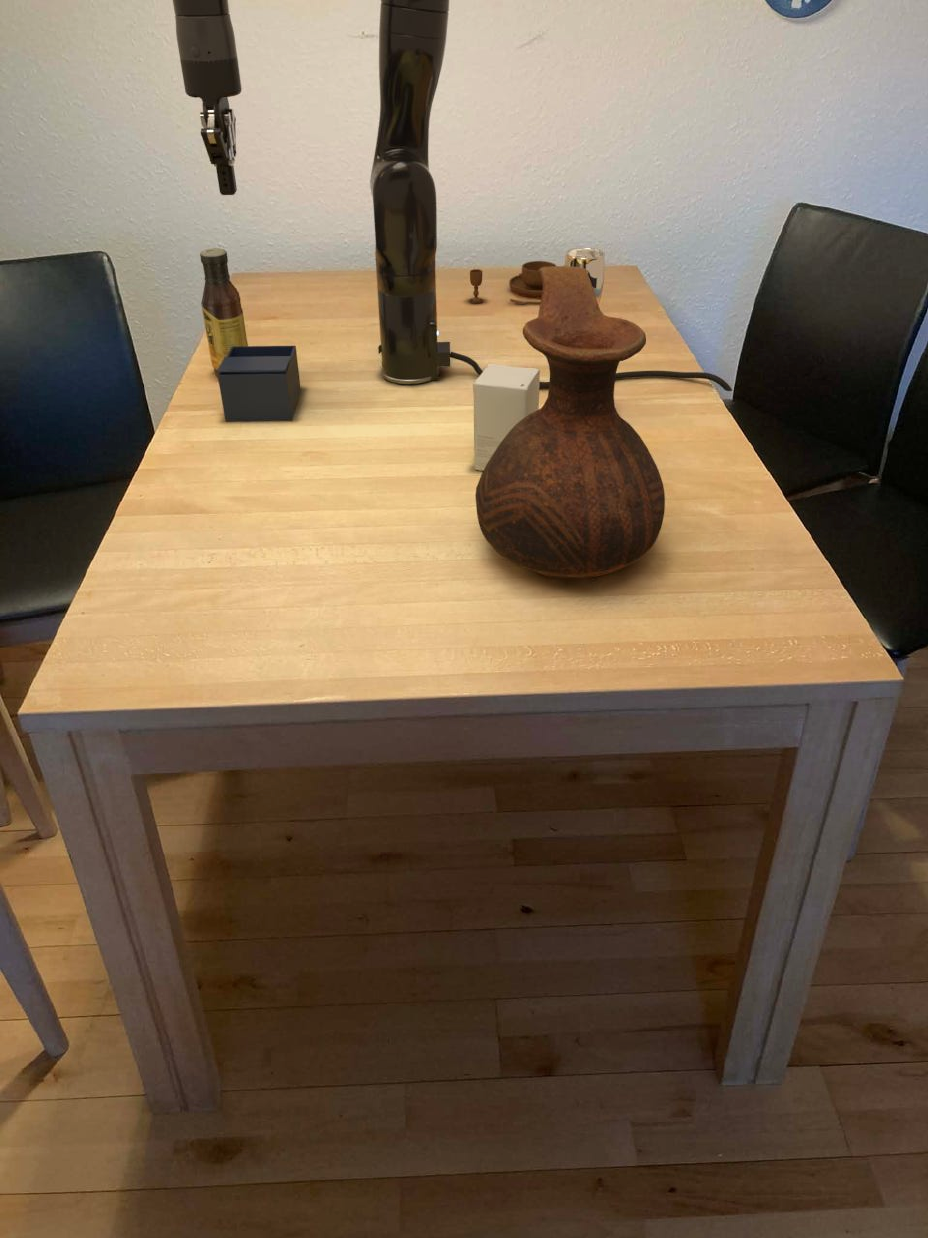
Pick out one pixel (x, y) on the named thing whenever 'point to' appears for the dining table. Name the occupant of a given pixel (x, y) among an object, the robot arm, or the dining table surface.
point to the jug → (573, 449)
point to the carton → (260, 387)
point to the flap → (254, 364)
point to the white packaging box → (501, 406)
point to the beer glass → (589, 266)
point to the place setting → (516, 282)
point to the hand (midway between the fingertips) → (228, 193)
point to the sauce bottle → (221, 307)
